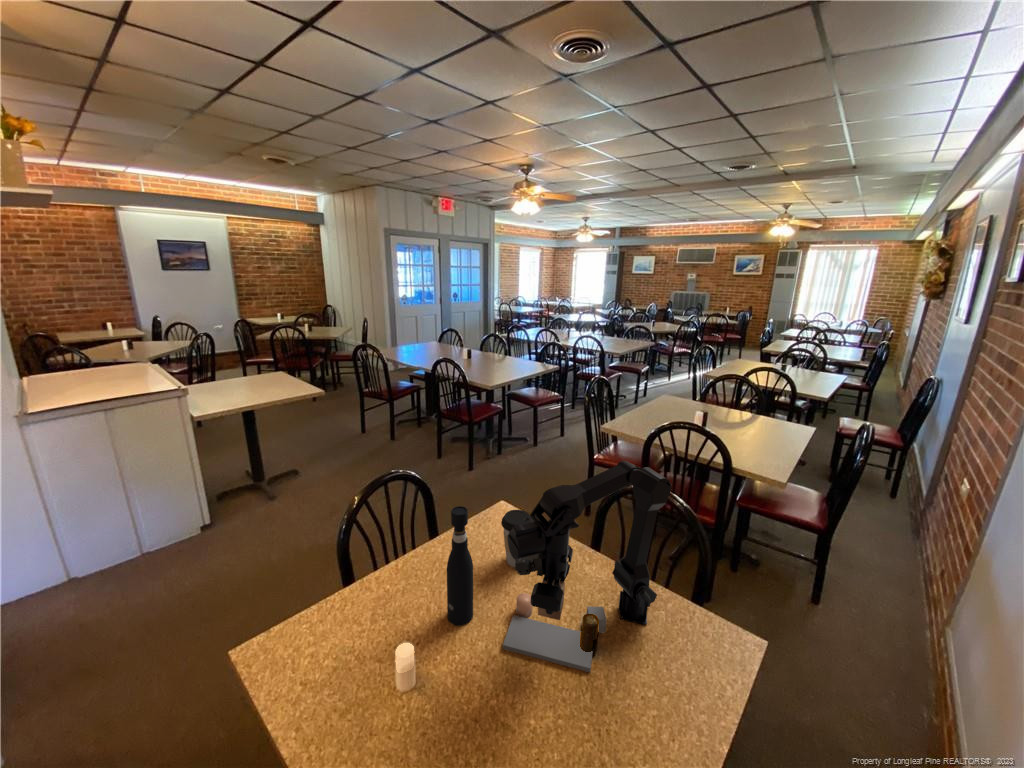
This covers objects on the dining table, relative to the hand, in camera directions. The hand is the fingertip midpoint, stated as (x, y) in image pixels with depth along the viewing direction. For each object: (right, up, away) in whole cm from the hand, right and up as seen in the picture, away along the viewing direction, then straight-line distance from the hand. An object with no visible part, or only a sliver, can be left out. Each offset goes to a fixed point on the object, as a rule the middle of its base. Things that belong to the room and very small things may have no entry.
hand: (551, 604), depth 95 cm
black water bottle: (-22, -8, +10) cm, 26 cm away
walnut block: (0, -1, 0) cm, 1 cm away
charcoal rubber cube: (+12, -10, +8) cm, 17 cm away
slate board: (0, -11, +3) cm, 11 cm away
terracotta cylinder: (-6, -8, +12) cm, 15 cm away
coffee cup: (-8, -3, +30) cm, 31 cm away
